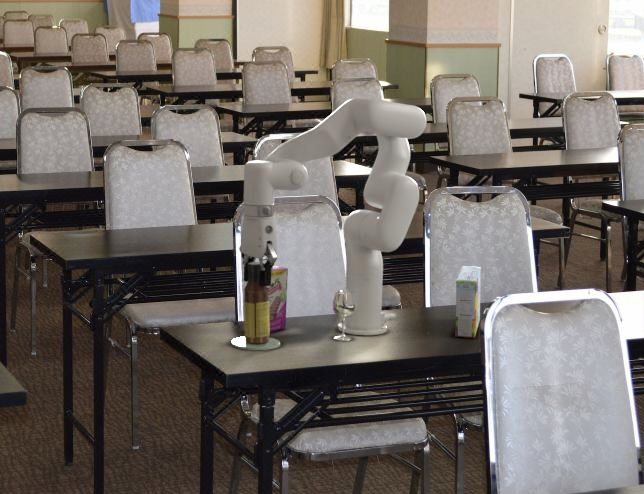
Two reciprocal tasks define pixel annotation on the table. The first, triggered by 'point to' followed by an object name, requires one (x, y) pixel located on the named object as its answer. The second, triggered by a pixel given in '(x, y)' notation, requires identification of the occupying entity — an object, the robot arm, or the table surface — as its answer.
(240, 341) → the coaster
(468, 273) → the snack box
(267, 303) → the sauce bottle
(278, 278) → the candy bar box
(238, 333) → the table surface
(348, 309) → the wineglass
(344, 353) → the table surface
